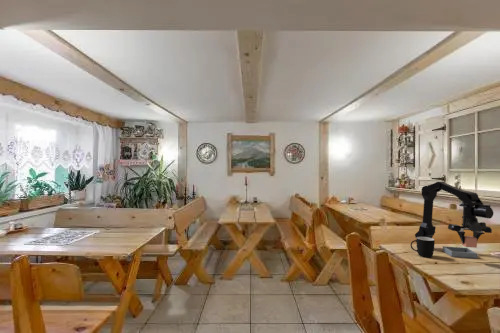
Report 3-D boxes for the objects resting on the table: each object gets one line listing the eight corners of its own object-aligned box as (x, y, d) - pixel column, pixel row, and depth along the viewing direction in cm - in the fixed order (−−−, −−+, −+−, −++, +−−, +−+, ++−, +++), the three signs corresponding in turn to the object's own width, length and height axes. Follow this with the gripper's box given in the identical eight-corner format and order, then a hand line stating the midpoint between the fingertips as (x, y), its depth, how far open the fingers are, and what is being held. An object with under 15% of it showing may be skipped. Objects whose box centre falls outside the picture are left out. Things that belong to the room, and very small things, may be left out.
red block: (466, 247, 160) (466, 237, 160) (461, 244, 164) (461, 235, 164) (476, 247, 158) (476, 238, 158) (471, 245, 163) (472, 236, 163)
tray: (451, 256, 170) (451, 251, 170) (442, 251, 182) (442, 246, 182) (477, 258, 168) (477, 253, 168) (466, 252, 179) (466, 247, 179)
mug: (434, 255, 172) (434, 238, 172) (434, 259, 165) (434, 241, 165) (410, 252, 179) (411, 235, 179) (409, 255, 171) (410, 238, 171)
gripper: (457, 216, 156) (456, 246, 156) (498, 218, 152) (497, 249, 152) (447, 213, 166) (447, 241, 166) (485, 215, 163) (485, 244, 163)
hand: (469, 244), depth 161 cm, fingers closed on red block, 5 cm apart
